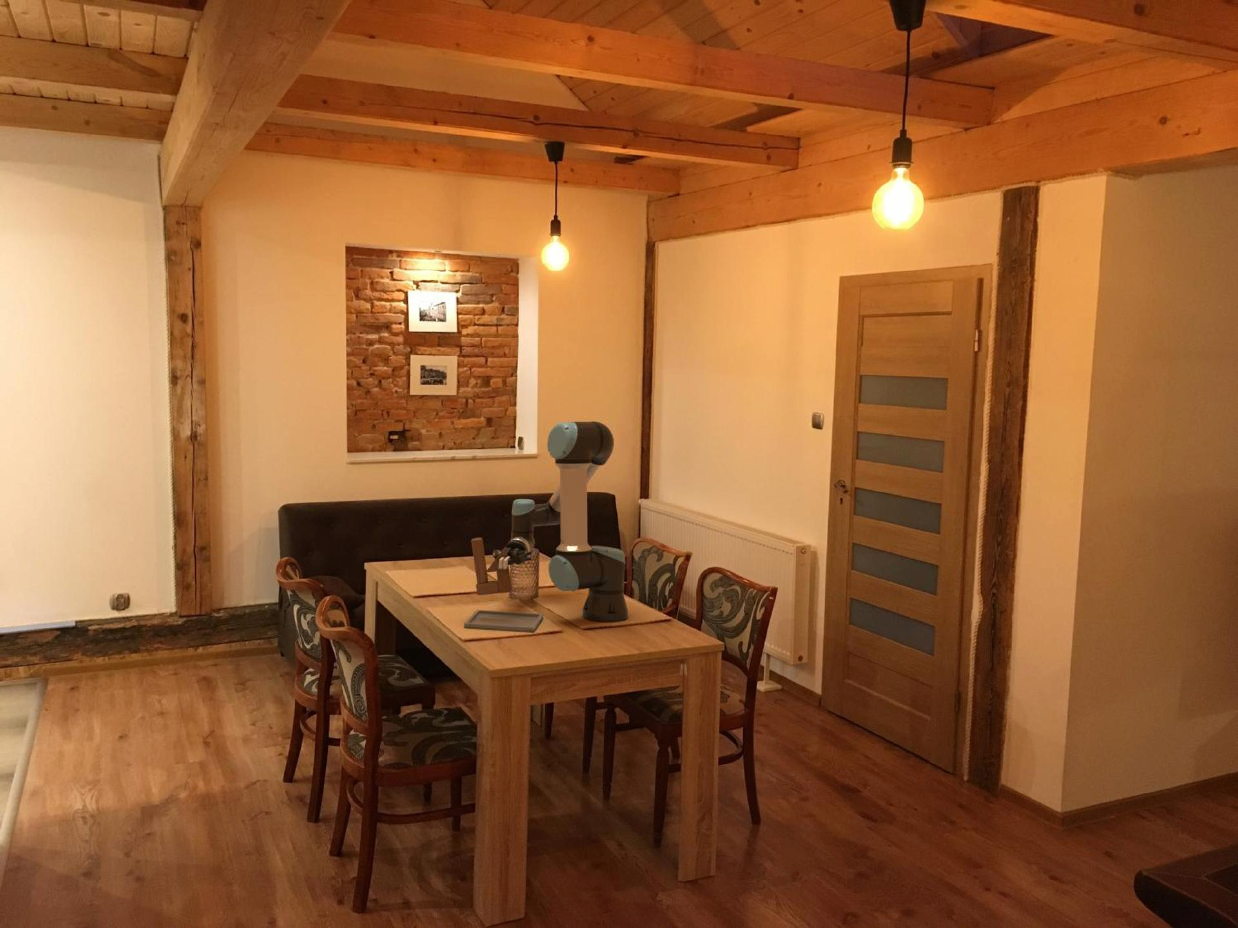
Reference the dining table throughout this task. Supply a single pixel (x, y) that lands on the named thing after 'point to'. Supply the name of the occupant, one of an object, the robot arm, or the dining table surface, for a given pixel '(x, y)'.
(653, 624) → the dining table surface
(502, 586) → the wooden block
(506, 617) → the slate tray
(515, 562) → the robot arm
